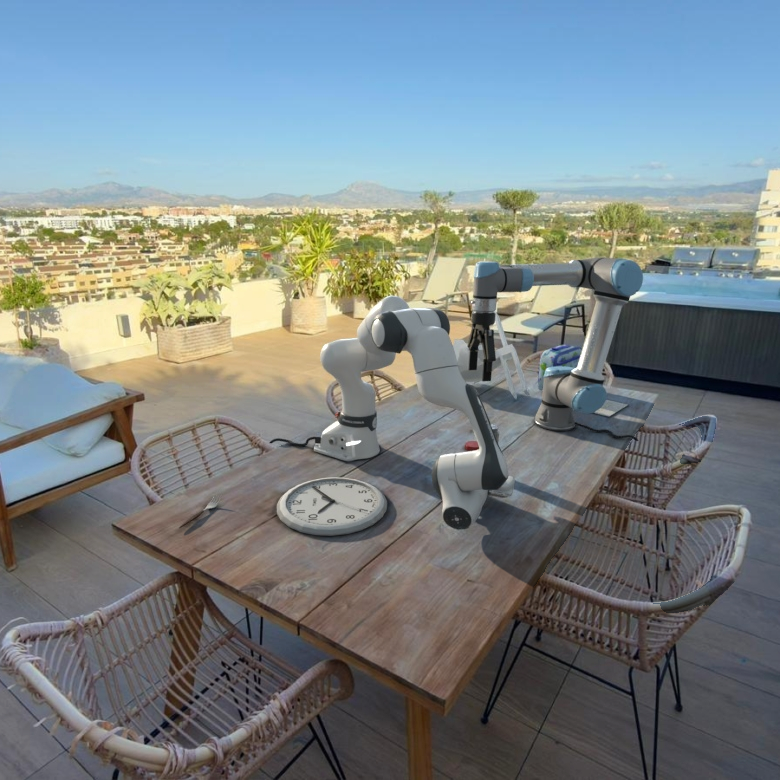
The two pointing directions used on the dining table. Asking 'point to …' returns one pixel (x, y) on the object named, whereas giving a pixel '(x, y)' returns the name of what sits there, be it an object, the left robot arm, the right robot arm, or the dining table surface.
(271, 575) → the dining table surface
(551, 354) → the lunch box
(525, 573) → the dining table surface
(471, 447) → the lid
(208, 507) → the fork
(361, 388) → the left robot arm
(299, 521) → the wall clock
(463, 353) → the white plastic object
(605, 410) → the invitation card
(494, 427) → the jar
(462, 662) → the dining table surface
